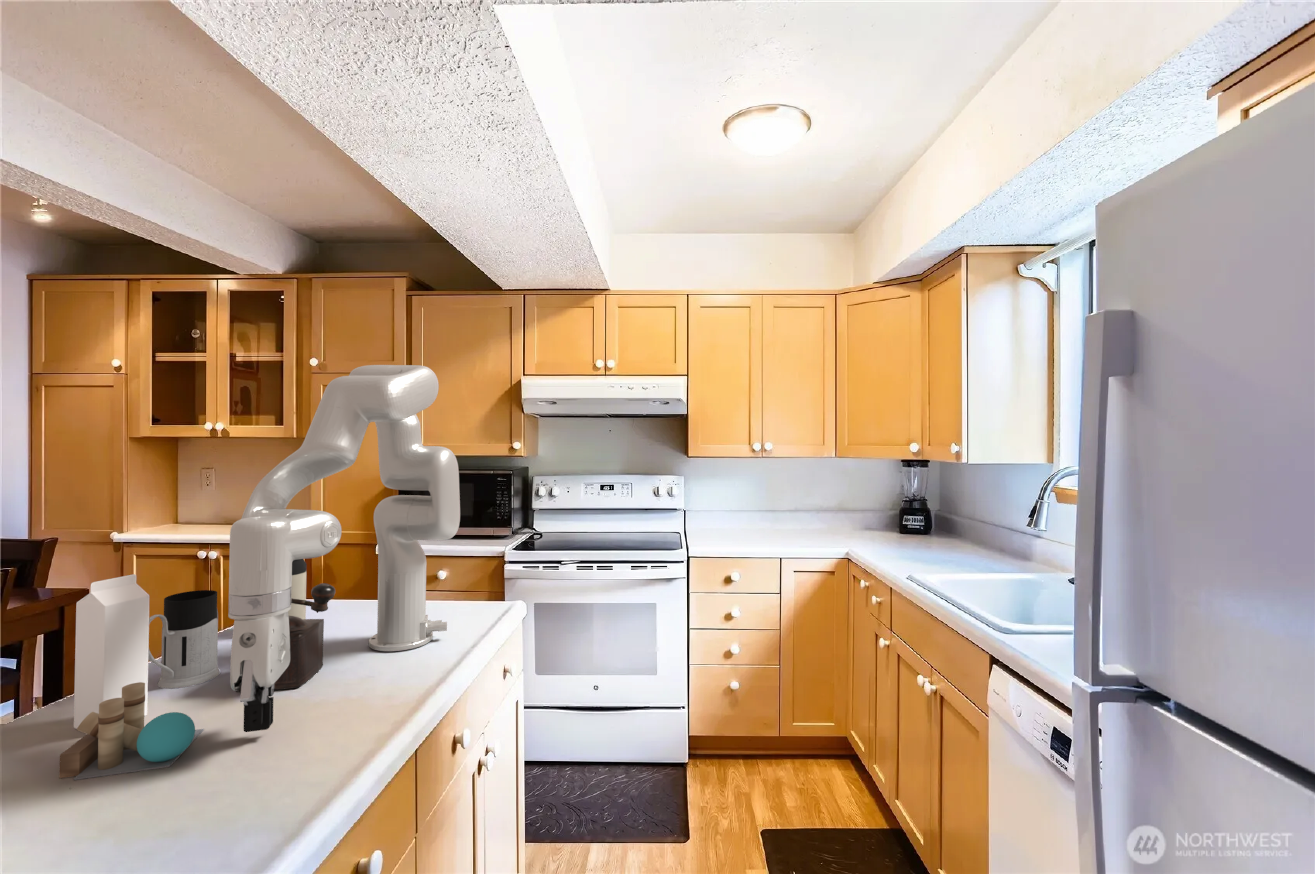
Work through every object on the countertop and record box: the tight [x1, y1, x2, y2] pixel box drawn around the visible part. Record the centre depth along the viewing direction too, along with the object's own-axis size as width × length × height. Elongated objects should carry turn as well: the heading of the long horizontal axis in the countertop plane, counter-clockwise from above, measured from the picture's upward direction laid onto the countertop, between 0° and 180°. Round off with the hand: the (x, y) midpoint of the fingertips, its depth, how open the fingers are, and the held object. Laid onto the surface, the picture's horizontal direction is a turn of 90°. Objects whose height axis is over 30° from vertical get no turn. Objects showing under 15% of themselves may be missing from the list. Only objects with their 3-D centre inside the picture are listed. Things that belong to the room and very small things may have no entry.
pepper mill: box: [235, 582, 336, 693], centre depth 103 cm, size 16×11×18 cm
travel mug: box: [288, 559, 307, 619], centre depth 128 cm, size 8×8×18 cm
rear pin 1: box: [98, 698, 124, 770], centre depth 75 cm, size 2×2×8 cm
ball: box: [137, 711, 196, 762], centre depth 77 cm, size 6×6×6 cm
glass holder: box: [148, 589, 221, 690], centre depth 100 cm, size 9×14×15 cm, turn 2°
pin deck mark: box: [73, 728, 205, 781], centre depth 78 cm, size 10×10×1 cm
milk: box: [73, 573, 150, 730], centre depth 87 cm, size 6×6×22 cm
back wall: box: [58, 733, 98, 779], centre depth 77 cm, size 2×9×3 cm, turn 18°
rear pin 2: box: [122, 682, 145, 750], centre depth 80 cm, size 2×2×8 cm
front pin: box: [76, 712, 142, 752], centre depth 77 cm, size 2×2×8 cm
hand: (258, 727), depth 82 cm, fingers closed
